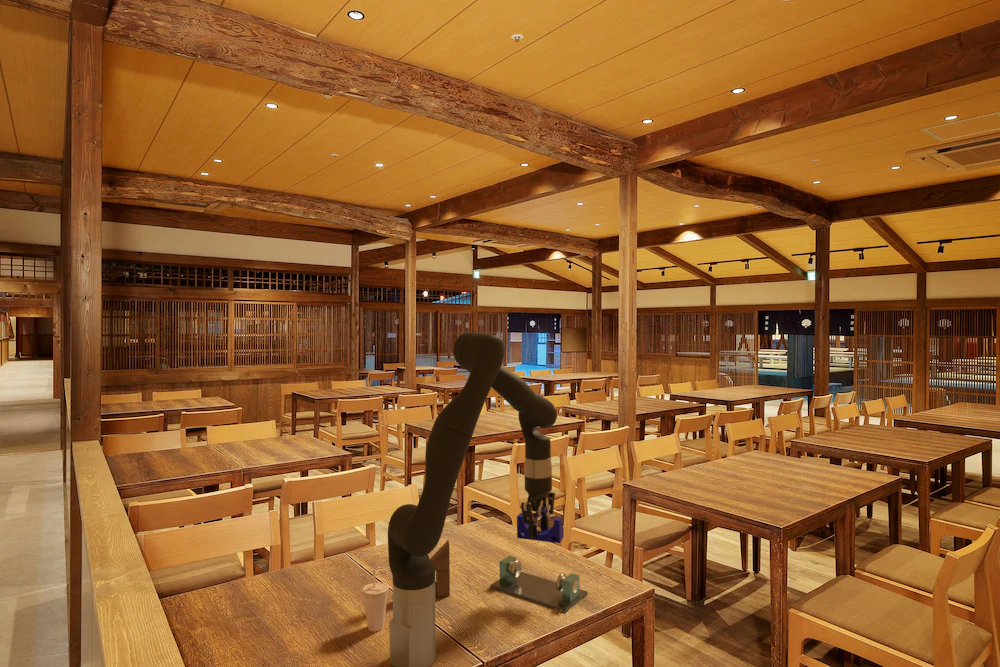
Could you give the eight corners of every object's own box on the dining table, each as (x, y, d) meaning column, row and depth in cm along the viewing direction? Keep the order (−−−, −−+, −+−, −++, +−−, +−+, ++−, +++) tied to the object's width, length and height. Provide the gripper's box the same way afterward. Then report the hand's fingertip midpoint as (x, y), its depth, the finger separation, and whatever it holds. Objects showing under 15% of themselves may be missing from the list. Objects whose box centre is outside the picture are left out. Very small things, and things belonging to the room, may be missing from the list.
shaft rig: (565, 612, 142) (565, 587, 142) (490, 587, 157) (490, 564, 157) (587, 594, 152) (587, 570, 152) (514, 572, 166) (514, 550, 166)
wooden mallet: (449, 596, 152) (449, 530, 151) (409, 599, 150) (409, 532, 150) (449, 590, 155) (448, 525, 155) (409, 593, 154) (409, 527, 153)
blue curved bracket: (563, 537, 154) (563, 515, 154) (559, 543, 150) (559, 520, 150) (522, 532, 158) (521, 511, 158) (517, 538, 154) (516, 516, 154)
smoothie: (378, 618, 140) (377, 562, 140) (394, 626, 136) (394, 569, 136) (356, 628, 135) (356, 571, 135) (373, 637, 131) (373, 578, 131)
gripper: (535, 481, 146) (536, 546, 146) (563, 470, 158) (563, 529, 158) (512, 477, 150) (512, 540, 151) (540, 466, 162) (541, 524, 162)
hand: (538, 534), depth 154 cm, fingers closed on blue curved bracket, 5 cm apart
